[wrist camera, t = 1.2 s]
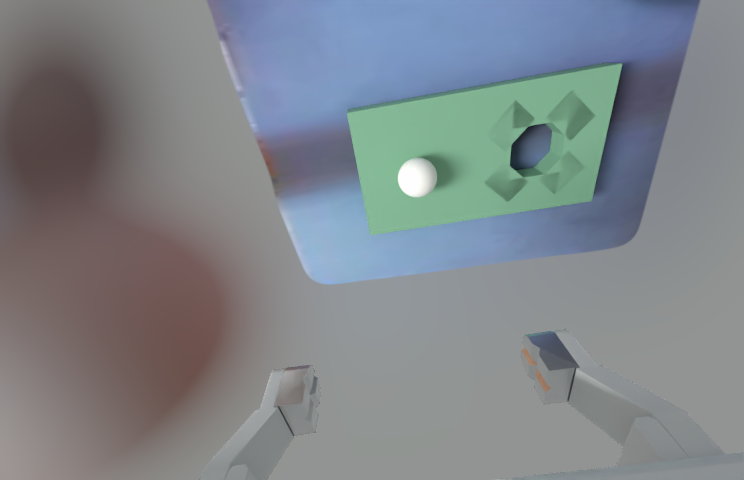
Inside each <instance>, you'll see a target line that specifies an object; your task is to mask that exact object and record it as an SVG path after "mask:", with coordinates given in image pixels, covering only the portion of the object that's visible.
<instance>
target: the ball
mask: <svg viewBox="0 0 744 480" xmlns="http://www.w3.org/2000/svg"><path fill="white" fill-rule="evenodd" d="M436 182H437V172H436V169H435V167H434V165H433V164H432V163H431V162H430V161H428V160H426V159H424V158H412V159H410V160H408V161H406V162H405V163H404V164H403V165H402V166H401V168H400V170H399V173H398V183H399V186H400V188H401V190H402V191H403V192H404V193H405V194H407V195H409V196H411V197H423V196H425V195H427V194H429V193H430V192H431V191H432V190H433V189H434V187H435V185H436Z"/></svg>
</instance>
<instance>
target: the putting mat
mask: <svg viewBox="0 0 744 480" xmlns="http://www.w3.org/2000/svg"><path fill="white" fill-rule="evenodd" d="M621 68H622V63H601V64H596V65H590V66H585V67H579V68H574V69H568V70H563V71H557V72H552V73H546V74H540V75H535V76H529V77H524V78H518V79H513V80H507V81H502V82H496V83H491V84H485V85H480V86H474V87H469V88H463V89H458V90H452V91H446V92H441V93H435V94H430V95H424V96H419V97H413V98H408V99H402V100H397V101H391V102H386V103H380V104H375V105H369V106H364V107H358V108H352V109H348V111H347V116H348V121H349V126H350V131H351V137H352V142H353V147H354V152H355V157H356V163H357V168H358V173H359V178H360V184H361V189H362V194H363V199H364V204H365V210H366V215H367V220H368V225H369V230H370V235H375V234H382V233H388V232H395V231H401V230H407V229H414V228H420V227H427V226H433V225H440V224H446V223H453V222H459V221H466V220H472V219H479V218H485V217H491V216H498V215H504V214H511V213H517V212H524V211H530V210H537V209H543V208H550V207H556V206H563V205H569V204H575V203H582V202H588V201H592V197H593V193H594V188H595V184H596V179H597V175H598V171H599V166H600V162H601V157H602V153H603V148H604V144H605V139H606V135H607V130H608V126H609V121H610V117H611V112H612V108H613V104H614V99H615V95H616V90H617V86H618V81H619V77H620V72H621ZM544 123H545V124H546V125H547V126H548V127H549V128H550V129H551V130H552V138H551V145H550V151H549V152H548V153H547V155H546V156H545V157H544V158H543V159H542V160H541V161H540V162H539V163H538V164H537V165H536V166H535V167H533V168H526V169H520V170H514V169H513V168H512V167H510V156H511V145H512V144H513V142H514V141H515V140H516V139H517V138H518V137H519V136H520V135H521V134H522V133H523V132H524V131H525V129H526V128H527V127H528V126H532V125H538V124H544ZM412 158H424V159H426V160H428V161H430V162H431V163H432V164H433V165H434V167H435V169H436V172H437V182H436V185H435V187H434V189H433V190H432V191H431V192H430V193H429V194H427V195H425V196H423V197H411V196H409V195H407V194H405V193H404V192H403V191H402V190H401V188H400V186H399V183H398V173H399V170H400V168H401V166H402V165H403V164H404V163H405V162H406V161H408V160H410V159H412Z"/></svg>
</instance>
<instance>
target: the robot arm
mask: <svg viewBox="0 0 744 480" xmlns="http://www.w3.org/2000/svg"><path fill="white" fill-rule="evenodd" d="M522 342H523V344H524V346H525V347H524V348H523V349H522V352H521V358H522V363H523V366H524V368H525V371H526V373H527V375H528V376H529V377H530V378H532V379H533V380H535V385H534V388H535V390H536V391H537V393H538V395H539V397H540V399H541V401H542V402H543V404H551V403H562V402H569V404H570V405H571V406H572V407H574V408H575V409H576V410H578V411H579V412H580V413H581V414H582V415H584V416H585V417H586V418H587V419H589V420H590V421H591V422H593V423H594V424H595V425H596V426H597V427H599V428H600V429H601V430H603V431H604V432H605V433H606V434H608V435H609V436H610V437H611V438H613V439H614V440H615V441H616V442H618V443H619V444H620V445H621V446H623V448H622V451H621V454H620V456H619V458H618V461H617V465H618V466H615V467H605V468H596V469H587V470H578V471H569V472H560V473H551V474H542V475H533V476H523V477H515V478H505V479H496V480H744V452H741V453H732V454H725V453H724V452H723V451H722V449H721V448H720V447H719V446H718V445H717V444H716V443H715V442H714V441H713V440H712V439H711V438H710V437H709V436H708V435H707V434H706V432H705V431H704V430H703V429H702V428H701V427H700V426H699V425H698V424H697V423H696V422H695V421H694V420H693V419H692V418H691V417H690V416H689V414H688V413H687V412H686V411H684V410H682V409H680V408H679V407H677V406H675V405H673V404H672V403H670V402H668V401H666V400H664V399H662V398H661V397H659V396H657V395H655V394H653V393H651V392H650V391H648V390H646V389H644V388H642V387H641V386H639V385H637V384H635V383H633V382H631V381H630V380H628V379H626V378H624V377H622V376H620V375H618V374H617V373H615V372H613V371H611V370H609V369H608V368H606V367H604V366H602V365H596V364H595V363H594V361H593V360H592V359H591V358H590V357H589V355H588V354H587V353H586V351H585V350H584V349H583V348H582V346H581V345H580V344H579V343H578V341H577V340H576V339H575V338H574V336H573V335H572V334H571V333H570V331H568V330H567V329H563V330H556V331H548V332H541V333H535V334H528V335H524V336H523V341H522ZM314 372H315V370H314V368H313V366H312V365H306V366H297V367H288V368H281V369H274V370H273V371H272V373H271V375H270V378H269V382H268V385H267V388H266V391H265V394H264V398H263V401H262V404H261V408H260V409H259V410H256V411H255V412H254V413H253V414H252V415H251V416H250V417H249V418H248V420H247V421H246V422H245V423H244V424H243V425H242V426H241V427H240V428H239V430H238V431H237V432H236V433H235V434H234V435H233V436H232V437H231V438H230V439H229V441H228V442H227V443H226V444H225V445H224V446H223V447H222V448H221V449H220V450H219V452H218V453H217V454H216V455H215V456H214V457H213V458H212V459H211V461H210V462H209V463H208V464H207V465H206V466H205V467H204V469H203V471H202V474H201V476H200V478H199V480H267V479H268V478H269V476H270V474H271V473H272V471H273V469H274V468H275V466H276V465H277V463H278V462H279V460H280V459H281V457H282V455H283V454H284V452H285V451H286V449H287V448H288V446H289V444H290V443H291V441H292V440H293V438H294V436H297V435H303V434H310V433H315V432H316V427H317V420H318V414H317V411H316V407H317V406H318V405H319V403H320V384H319V380H318V378H317V377H315V376H314Z"/></svg>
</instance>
